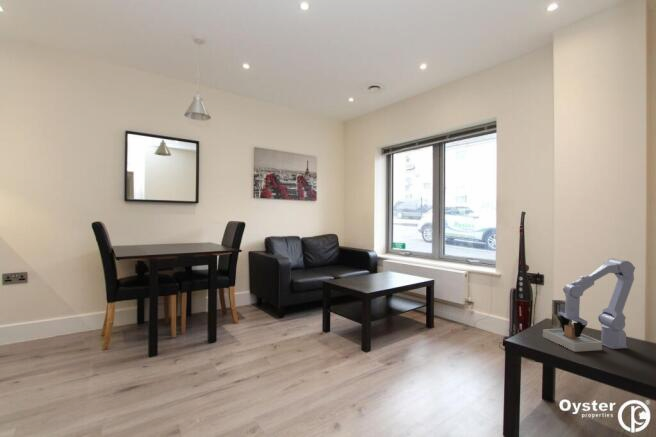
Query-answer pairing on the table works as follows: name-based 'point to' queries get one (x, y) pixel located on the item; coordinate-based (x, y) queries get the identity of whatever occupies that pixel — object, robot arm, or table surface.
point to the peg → (569, 331)
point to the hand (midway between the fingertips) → (571, 334)
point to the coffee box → (557, 307)
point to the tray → (570, 344)
